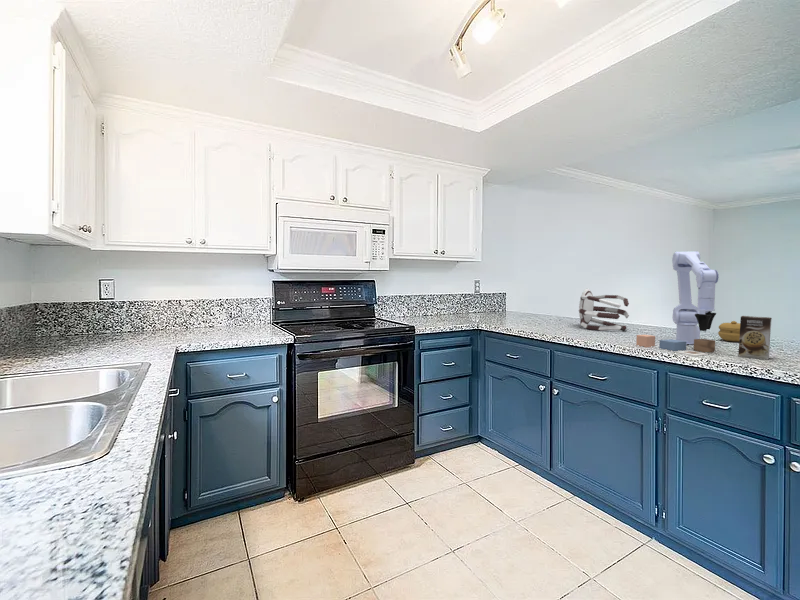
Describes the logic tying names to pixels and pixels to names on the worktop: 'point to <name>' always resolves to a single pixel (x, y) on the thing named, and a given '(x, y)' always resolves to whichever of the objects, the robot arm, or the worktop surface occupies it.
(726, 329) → the pot
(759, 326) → the coffee box
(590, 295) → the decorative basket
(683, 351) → the card
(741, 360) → the worktop surface
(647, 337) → the peach block
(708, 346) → the walnut block
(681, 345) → the blue block
